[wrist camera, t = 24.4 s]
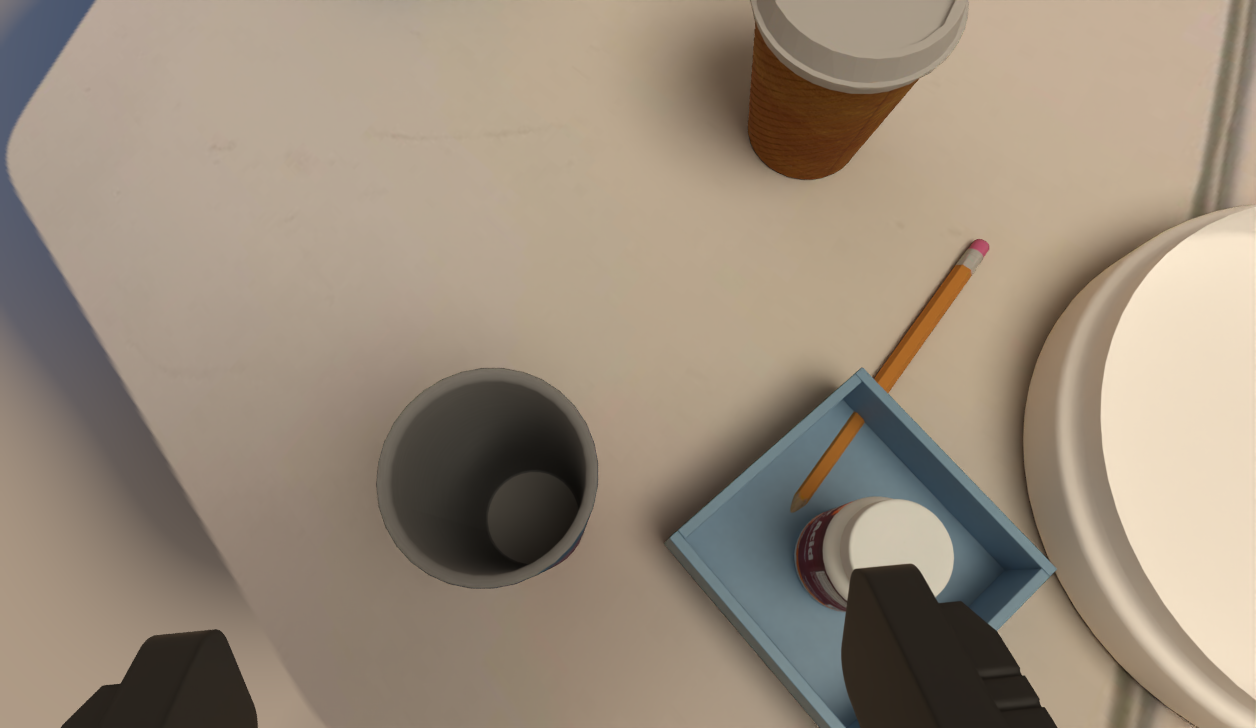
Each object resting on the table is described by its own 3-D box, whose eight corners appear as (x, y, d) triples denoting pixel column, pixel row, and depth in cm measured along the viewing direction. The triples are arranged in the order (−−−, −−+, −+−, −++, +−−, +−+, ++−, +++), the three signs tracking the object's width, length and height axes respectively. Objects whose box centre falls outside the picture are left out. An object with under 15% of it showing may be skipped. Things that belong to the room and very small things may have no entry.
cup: (582, 432, 40) (564, 342, 26) (621, 565, 38) (625, 549, 24) (449, 471, 40) (355, 401, 25) (483, 609, 38) (402, 618, 23)
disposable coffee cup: (725, 50, 47) (762, -129, 35) (889, 66, 46) (980, -107, 35) (712, 197, 44) (747, 56, 32) (885, 215, 44) (983, 80, 32)
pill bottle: (833, 489, 39) (890, 462, 31) (911, 557, 38) (990, 548, 30) (771, 563, 38) (813, 554, 30) (849, 634, 37) (914, 646, 29)
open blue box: (837, 749, 36) (864, 767, 33) (663, 543, 39) (668, 537, 35) (1014, 571, 39) (1058, 569, 35) (839, 387, 41) (862, 366, 37)
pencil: (970, 238, 43) (768, 518, 39) (985, 236, 42) (780, 523, 38) (979, 250, 44) (780, 529, 39) (995, 248, 43) (792, 534, 39)
